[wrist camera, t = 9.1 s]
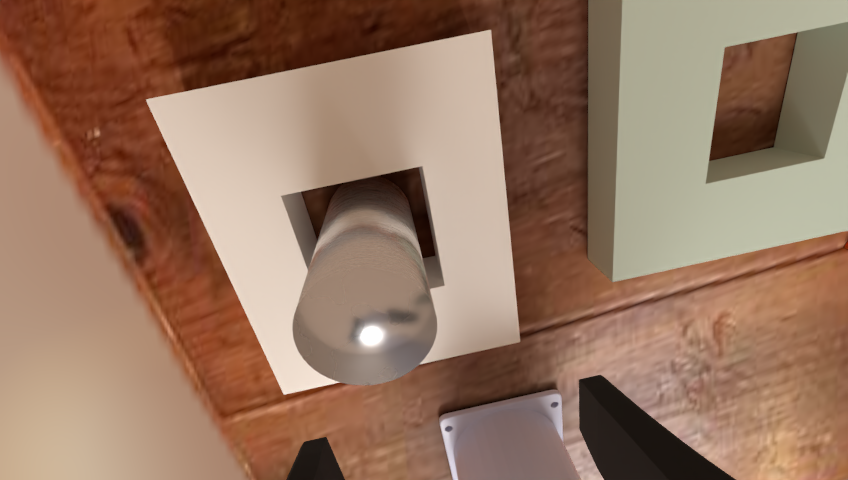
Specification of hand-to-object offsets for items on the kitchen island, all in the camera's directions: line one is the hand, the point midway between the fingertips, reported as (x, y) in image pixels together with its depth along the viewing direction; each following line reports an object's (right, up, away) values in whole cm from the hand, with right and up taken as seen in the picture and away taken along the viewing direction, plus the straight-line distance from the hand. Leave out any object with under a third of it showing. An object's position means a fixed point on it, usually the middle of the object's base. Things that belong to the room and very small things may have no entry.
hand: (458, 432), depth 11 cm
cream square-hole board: (-4, +7, +8) cm, 11 cm away
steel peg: (-4, +7, +8) cm, 11 cm away
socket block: (+14, +12, +8) cm, 20 cm away
